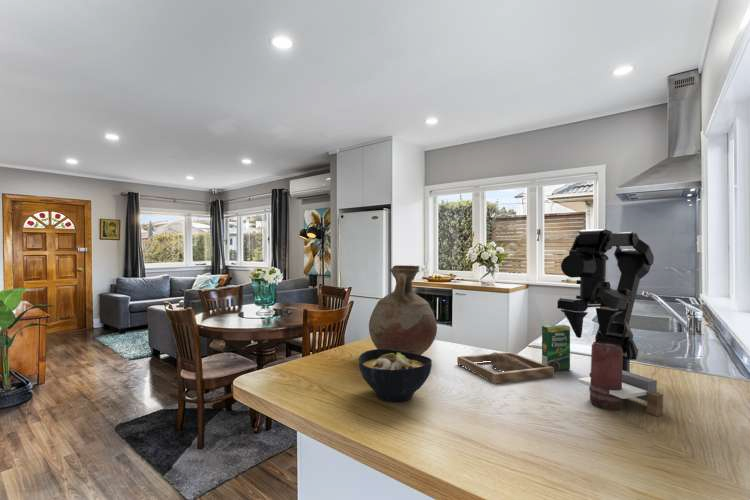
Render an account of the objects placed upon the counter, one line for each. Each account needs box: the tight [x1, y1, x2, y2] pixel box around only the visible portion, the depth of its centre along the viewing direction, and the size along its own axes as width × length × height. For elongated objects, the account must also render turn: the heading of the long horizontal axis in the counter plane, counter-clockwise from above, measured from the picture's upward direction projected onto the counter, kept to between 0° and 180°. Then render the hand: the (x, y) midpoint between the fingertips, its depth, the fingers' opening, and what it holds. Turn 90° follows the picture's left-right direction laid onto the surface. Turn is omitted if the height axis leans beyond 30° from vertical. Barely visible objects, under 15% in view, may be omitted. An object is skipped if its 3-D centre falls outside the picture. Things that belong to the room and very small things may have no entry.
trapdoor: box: [577, 370, 658, 402], centre depth 87 cm, size 12×12×4 cm
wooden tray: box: [456, 351, 555, 384], centre depth 109 cm, size 20×17×2 cm
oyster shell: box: [489, 352, 533, 372], centre depth 111 cm, size 10×12×5 cm
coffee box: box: [541, 324, 571, 371], centre depth 112 cm, size 8×3×13 cm, turn 101°
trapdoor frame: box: [588, 372, 664, 417], centre depth 87 cm, size 2×16×4 cm, turn 21°
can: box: [589, 341, 623, 411], centre depth 85 cm, size 6×6×14 cm
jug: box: [368, 264, 438, 356], centre depth 118 cm, size 22×22×30 cm
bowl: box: [358, 348, 433, 403], centre depth 88 cm, size 17×17×10 cm
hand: (591, 336), depth 98 cm, fingers open, 9 cm apart
